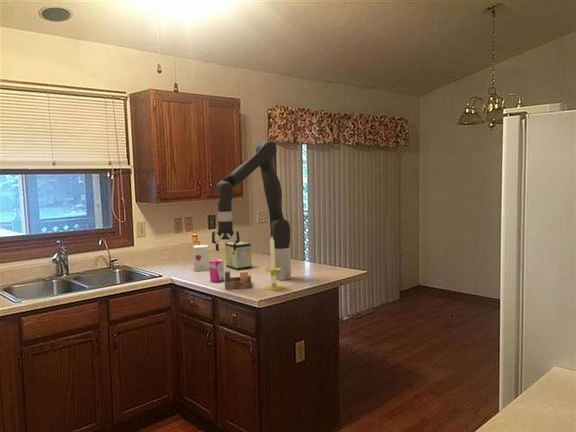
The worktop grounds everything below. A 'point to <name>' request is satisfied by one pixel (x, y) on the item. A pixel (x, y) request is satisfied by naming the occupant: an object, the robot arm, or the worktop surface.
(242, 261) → the protein box
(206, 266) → the supplement box
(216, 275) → the supplement box
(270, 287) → the candle
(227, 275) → the lopsided dumbbell
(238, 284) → the shelf
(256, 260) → the worktop surface
